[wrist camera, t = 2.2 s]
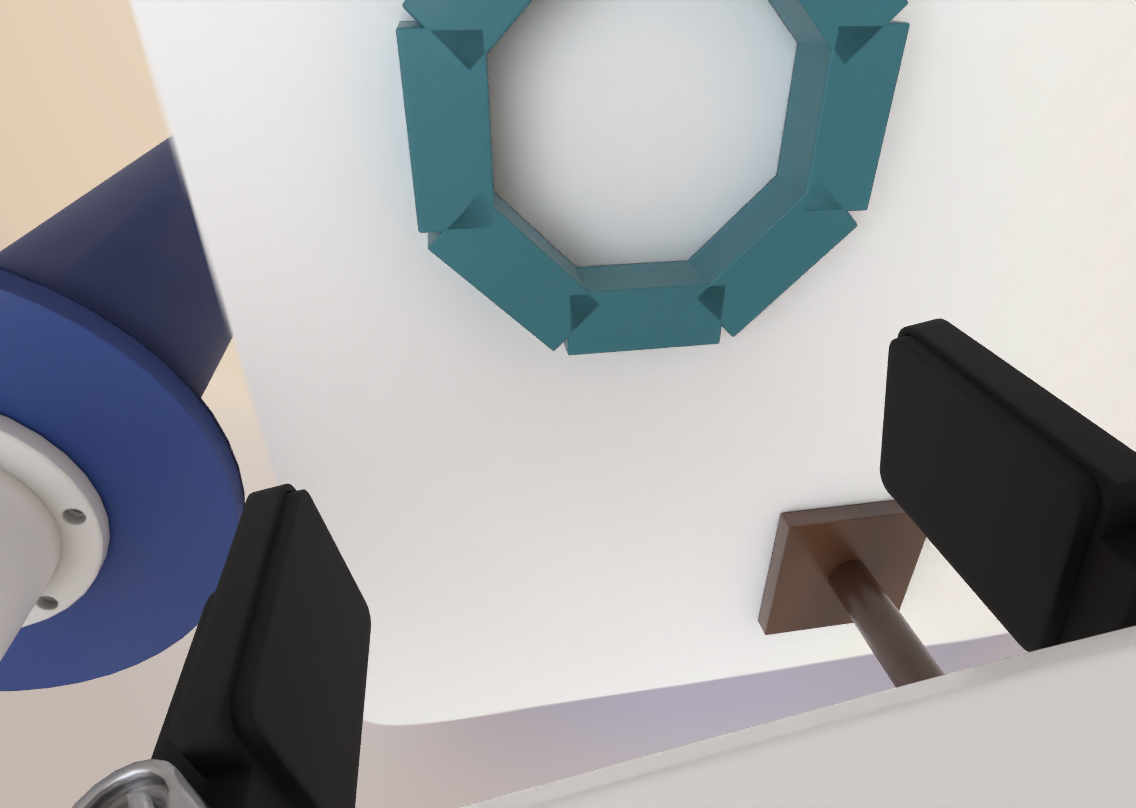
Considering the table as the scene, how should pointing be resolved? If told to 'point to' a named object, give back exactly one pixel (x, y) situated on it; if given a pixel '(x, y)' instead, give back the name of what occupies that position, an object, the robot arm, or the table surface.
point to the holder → (849, 580)
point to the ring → (662, 289)
